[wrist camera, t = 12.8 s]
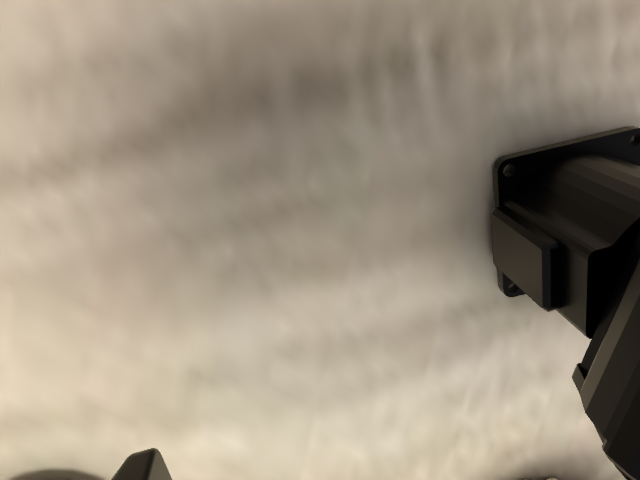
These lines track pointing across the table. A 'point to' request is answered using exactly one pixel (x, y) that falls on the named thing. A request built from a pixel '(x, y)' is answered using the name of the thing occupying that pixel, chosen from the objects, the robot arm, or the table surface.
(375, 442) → the table surface
